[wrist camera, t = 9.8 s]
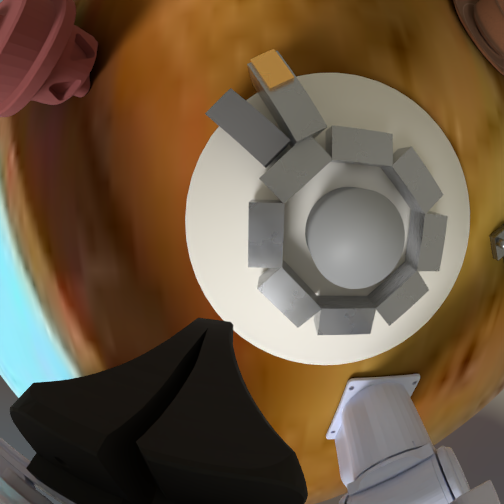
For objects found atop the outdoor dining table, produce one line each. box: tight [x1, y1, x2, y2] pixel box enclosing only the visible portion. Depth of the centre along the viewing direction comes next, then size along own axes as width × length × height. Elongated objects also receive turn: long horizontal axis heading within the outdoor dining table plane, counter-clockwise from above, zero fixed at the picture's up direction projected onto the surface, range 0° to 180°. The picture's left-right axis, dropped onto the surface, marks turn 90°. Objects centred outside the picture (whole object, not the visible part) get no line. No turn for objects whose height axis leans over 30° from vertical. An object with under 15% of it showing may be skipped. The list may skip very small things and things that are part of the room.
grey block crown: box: [247, 49, 448, 335], centre depth 15 cm, size 13×17×4 cm
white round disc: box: [185, 73, 470, 365], centre depth 16 cm, size 22×22×4 cm
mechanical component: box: [0, 0, 98, 117], centre depth 10 cm, size 12×10×10 cm
